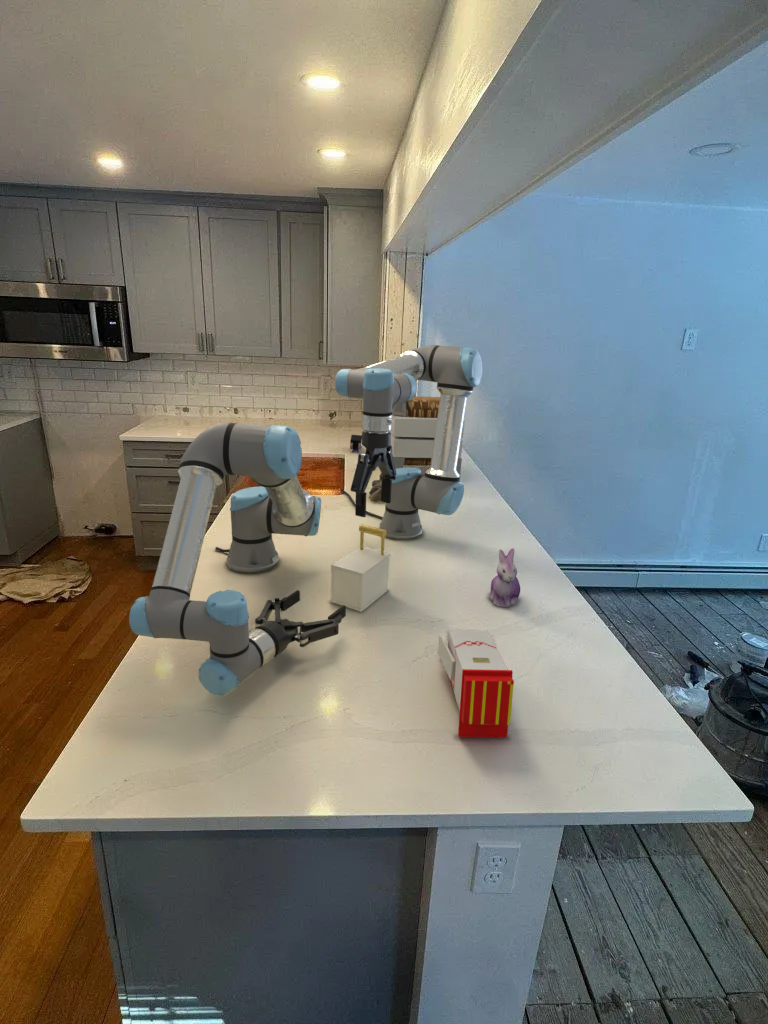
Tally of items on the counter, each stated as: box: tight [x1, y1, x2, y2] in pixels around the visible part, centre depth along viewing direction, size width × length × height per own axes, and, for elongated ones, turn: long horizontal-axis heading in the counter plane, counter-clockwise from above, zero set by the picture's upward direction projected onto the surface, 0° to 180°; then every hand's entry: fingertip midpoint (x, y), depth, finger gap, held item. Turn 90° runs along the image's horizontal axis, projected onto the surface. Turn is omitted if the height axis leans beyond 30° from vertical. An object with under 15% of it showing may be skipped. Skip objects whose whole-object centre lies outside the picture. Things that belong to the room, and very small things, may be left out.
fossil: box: [368, 472, 385, 503], centre depth 238 cm, size 22×10×15 cm
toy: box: [437, 628, 515, 738], centre depth 117 cm, size 12×13×30 cm
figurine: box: [489, 547, 521, 608], centre depth 154 cm, size 9×10×15 cm
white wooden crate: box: [389, 395, 465, 482], centre depth 268 cm, size 34×33×41 cm
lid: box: [330, 523, 392, 576], centre depth 151 cm, size 15×10×8 cm, turn 151°
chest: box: [330, 557, 390, 613], centre depth 154 cm, size 14×10×10 cm, turn 151°
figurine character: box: [349, 434, 363, 453], centre depth 311 cm, size 7×8×15 cm
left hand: (321, 602), depth 138 cm, fingers open, 13 cm apart
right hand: (373, 509), depth 153 cm, fingers open, 13 cm apart
